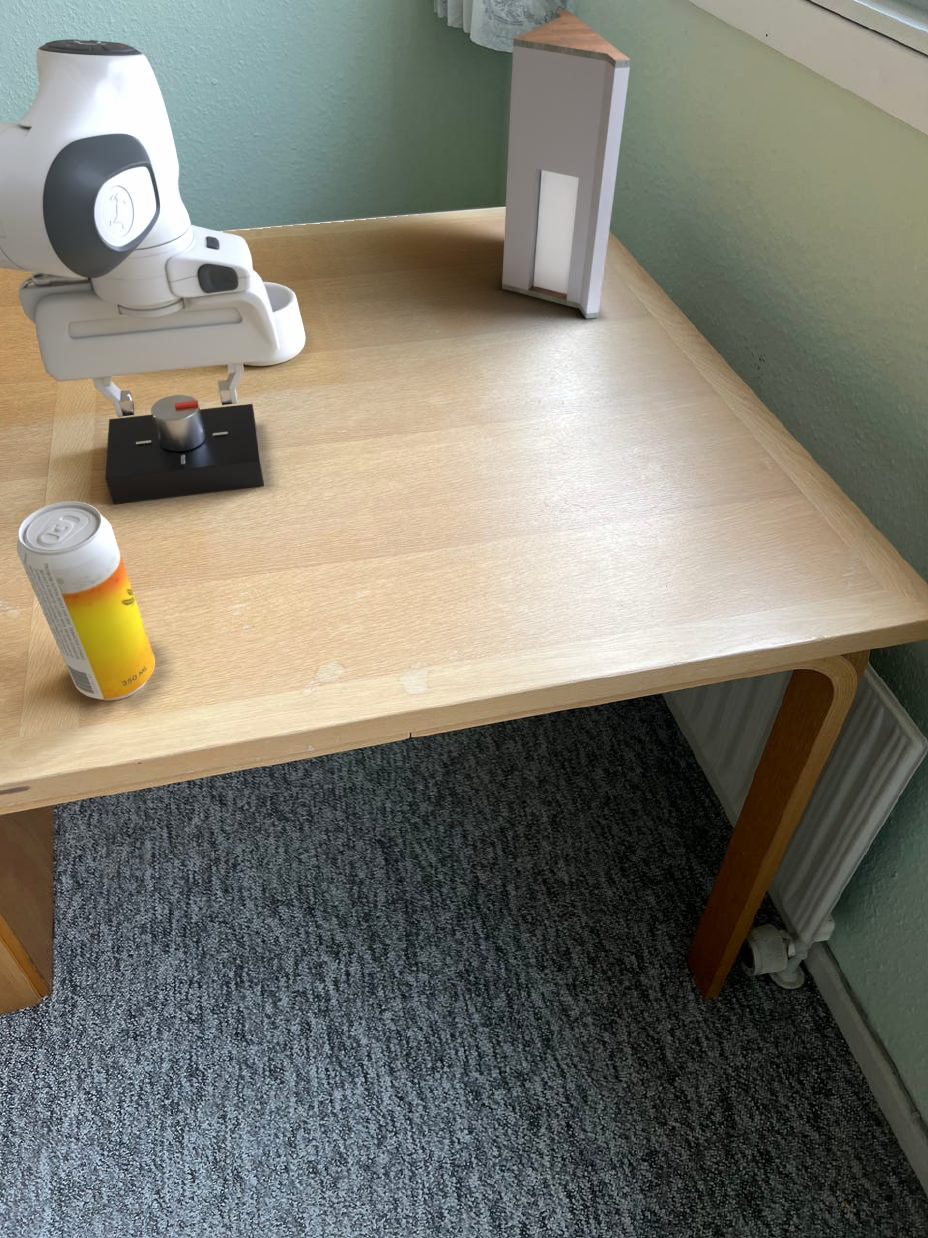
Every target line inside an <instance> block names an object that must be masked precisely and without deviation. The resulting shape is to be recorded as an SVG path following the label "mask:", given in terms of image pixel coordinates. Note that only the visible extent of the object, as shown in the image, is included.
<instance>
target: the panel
mask: <svg viewBox="0 0 928 1238" xmlns="http://www.w3.org/2000/svg"><path fill="white" fill-rule="evenodd" d="M200 412H201V416H202V421H203V425H204V430H205V435H206V436H205V440H204V441H203V443H202V444H201V445H199V446H198V447H196V448H194V449H191V450H187V451H180V452H176V451H169V450H166V449H164V448H163V447H162V446H161V445H160V444H159V441H158V437H157V433H156V429H155V425H154V421H153V418H152V414H143V415H136V416H135V415H133V416H124V417H117V418H109V419H108V433H107V446H106V459H105V461H106V462H105V474H104V479H105V482H106V486H107V489H108V491H109V494H110V495H109V496H110V499H111V502H112V504H113V505H118V504H128V503H136V502H142V501H143V502H144V501H145V502H146V501H153V500H160V499H168V498H177V497H183V496H184V497H186V496H193V495H200V494H201V495H202V494H209V493H217V492H225V491H233V490H234V491H235V490H241V489H248V488H249V489H250V488H257V487H264V486H265V481H264V474H263V466H262V458H261V452H260V451H261V450H260V444H259V437H258V428H257V421H256V416H255V409H254V405H253V403H245V404H238V405H237V404H235V405H226V406H220V407H219V406H218V407H208V408H200Z"/></svg>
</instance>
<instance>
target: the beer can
mask: <svg viewBox="0 0 928 1238" xmlns="http://www.w3.org/2000/svg"><path fill="white" fill-rule="evenodd" d="M112 527H113V526H112V525H111V523H110V522H109V520H108V519H107V518H106V517H104V516H103V515H102V514H101V512H100V511H99V510H98V509H97V508H96V507H94V506H93V505H91V504H89V503H86V502H83V501H82V502H81V501H72V500H71V501H59V502H55V503H51V504H48V505H44V506H42V507H40V508H39V509H37V510H35V511H33V512H32V513H31V514H29V515H27V517H25V518H24V520H23V521H22V522H21V523H20V525H19V527H18V531H17V538H18V539H17V544H16V552H17V555H18V558H19V560H20V562H21V565H22V567H23V569H24V571H25V573H26V576H27V578H28V581H29V582H30V585H31V587H32V590H33V592H34V595H35V597H36V599H37V601H38V604H39V606H40V608H41V610H42V613H43V615H44V617H45V620H46V622H47V624H48V627H49V629H50V631H51V634H52V636H53V638H54V641H55V643H56V645H57V647H58V649H59V652H60V655H61V657H62V659H63V661H64V663H65V666H66V668H67V671H68V673H69V675H70V678H71V680H72V682H73V684H74V686H75V688H76V689H77V690H78V691H79V692H80V693H81V694H82V695H85V696H87V697H89V698H92V699H97V700H100V701H117V700H122V699H125V698H127V697H130V696H132V695H134V694H136V693H137V692H138V691H140V690H141V689H142V688H143V687H144V686H145V685H146V684H147V682H148V680H149V679H150V678H151V676H152V674H153V673H154V671H155V667H156V666H155V665H156V659H155V655H154V652H153V649H152V646H151V643H150V640H149V637H148V634H147V631H146V627H145V625H144V622H143V618H142V615H141V612H140V609H139V606H138V603H137V601H136V596H135V594H134V591H133V589H132V585H131V581H130V579H129V576H128V572H127V570H126V566H125V564H124V561H123V558H122V555H121V551H120V548H119V545H118V542H117V539H116V537H115V533H114V530H113V528H112Z"/></svg>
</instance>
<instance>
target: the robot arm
mask: <svg viewBox="0 0 928 1238" xmlns="http://www.w3.org/2000/svg"><path fill="white" fill-rule="evenodd" d="M36 68H37V69H36V70H37V77H38V83H39V84H38V88H37V91H36V94H35V97H34V99H33V102H32V104H31V106H30V107H29V109H28V110H27V112H25V114H24V115H23V116H22V117H21V118H20V119H19V120H18V121H17V123H15V122H6V121H0V268H1V269H7V270H13V271H21V272H26V273H31V276H30V277H27V278H25V279H24V280H22V282H21V284H20V285H19V287H18V298H19V301H20V303H21V307H22V310H23V312H24V314H25V316H26V317H27V318H28V319H29V320H30V321H31V322H32V323H33V324H35V331H36V338H37V339H36V340H37V342H38V349H39V354H40V357H41V361H42V365H43V368H44V371H45V373H46V374H47V375H49V376H50V377H51V378H53V379H54V380H55V381H58V382H62V383H63V382H73V381H81V380H90V379H91V380H92V382H93V385H94V388H95V389H96V390H97V391H98V392H99V393H100V394H102V395H103V396H104V397H105V398H106V399H107V400H108V401H109V402H111V403H112V404H113V407H114V410H115V413H116V416H117V418H124V417H132V416H135V404H134V400H133V396H132V392H131V390H130V389H129V390H128V389H127V390H121V389H120V388H119V387H118V386H117V385H116V384H115V383H114V382H113V381H112V377H119V376H130V375H138V374H140V375H141V374H148V373H157V372H166V371H167V372H168V371H177V370H186V369H187V370H188V369H196V368H197V369H198V368H207V367H217V366H225V365H226V368H227V372H228V376H227V378H226V379H222V380H221V379H220V380H218V393H219V397H220V402H221V405H222V406H230V405H237V404H238V405H239V402H238V394H237V393H238V392H237V388H238V386H239V384H240V381H241V379H242V378H243V376H244V373H245V370H244V369H245V368H244V364H243V363H245V362H255V361H265V360H271V359H273V358H274V357H275V355H276V354H277V352H278V351H279V349H280V346H279V339H278V334H277V329H276V324H275V319H274V315H273V311H272V307H271V304H270V300H269V297H268V294H267V291H266V289H265V286H264V283H263V282H264V281H263V279H262V278H261V276H260V275H259V274H258V272H257V271H255V269H253V267H254V266H253V259H252V254H251V251H250V247H249V246H248V243H247V241H246V240H245V238H244V237H242V236H240V235H237V234H233V233H228V232H224V231H219V230H215V229H211V228H206V227H202V226H197V225H194V224H192V223H191V218H190V215H189V212H188V209H187V207H186V206H185V204H184V202H183V200H182V197H181V194H180V189H179V188H180V187H179V177H180V162H179V158H178V153H177V149H176V144H175V139H174V135H173V132H172V131H173V130H172V126H171V122H170V119H169V114H168V111H167V108H166V104H165V101H164V98H163V94H162V91H161V88H160V86H159V82H158V80H157V77H156V75H155V72H154V70H153V68H152V66H151V64H150V62H149V60H148V58H147V57H146V55H145V54H144V53H142V52H141V51H140V50H138V49H137V48H135V47H134V46H131V45H128V44H124V43H121V42H116V41H115V42H113V41H103V40H95V39H94V40H93V39H89V40H81V39H76V38H75V39H71V38H70V39H58V40H57V39H56V40H52V41H49V42H46V43H44V44H42V45H40V46H39V47H38V48H37V49H36ZM32 283H33V284H32Z"/></svg>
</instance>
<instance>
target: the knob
mask: <svg viewBox="0 0 928 1238" xmlns="http://www.w3.org/2000/svg"><path fill="white" fill-rule="evenodd" d="M200 409H201V408H200V404H199V400H197V399H196V398H194V397H192V396H189V395H183V394H175V395H173V394H172V395H168V396H166V397H162V398H160V399H159V400H157V401H156V402H154V403H153V404H152V406H151V408H150V415H152V418H153V421H154V425H155V429H156V433H157V437H158V441H159V444H160V445H161V446H162V447H163V448H164V449H166V450H169V451H176V452H180V451H187V450H191V449H194V448H196V447H198V446H199V445H201V444H202V443H203V441H204V440H205V436H206V435H205V430H204V425H203V421H202V416H201V412H200Z"/></svg>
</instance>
